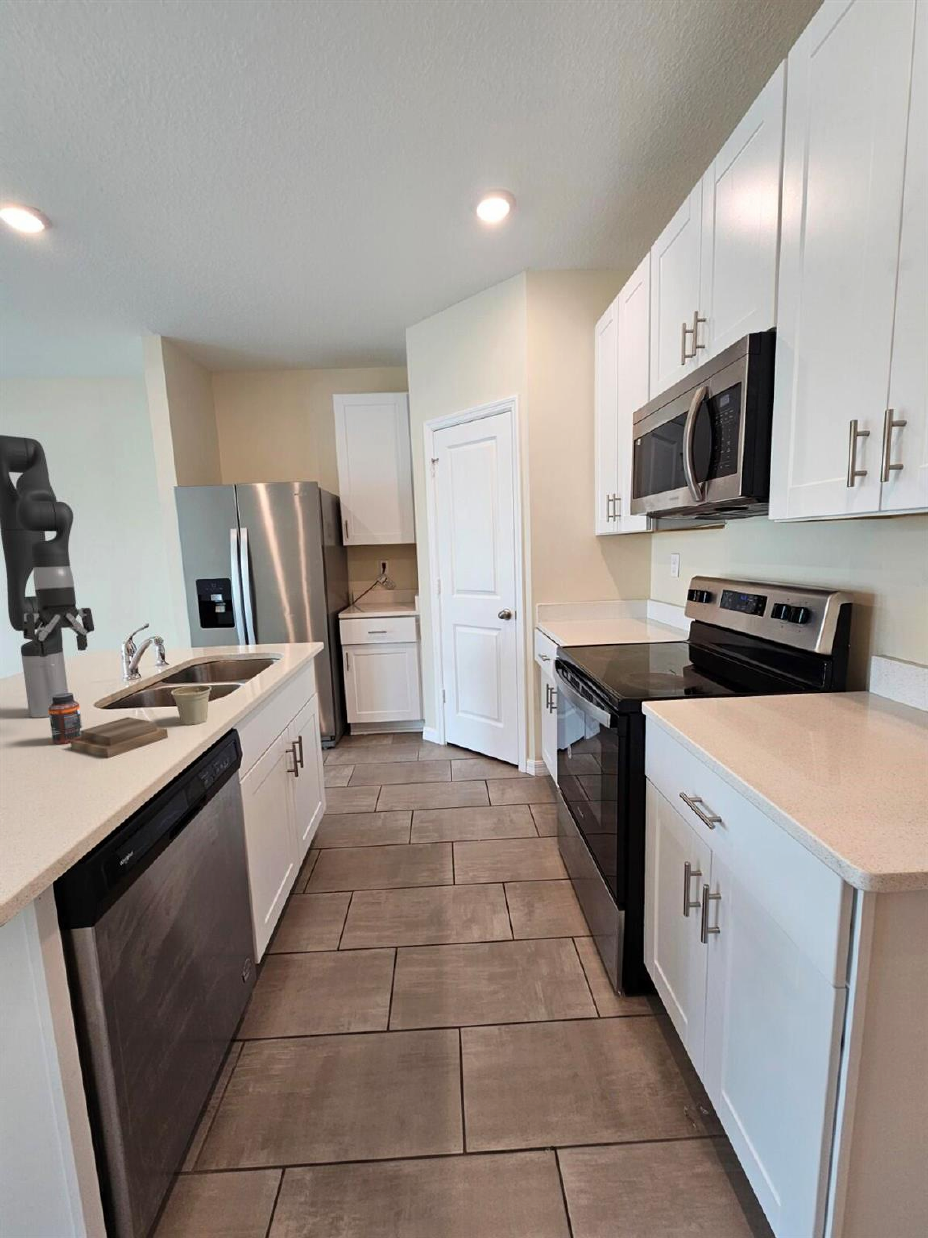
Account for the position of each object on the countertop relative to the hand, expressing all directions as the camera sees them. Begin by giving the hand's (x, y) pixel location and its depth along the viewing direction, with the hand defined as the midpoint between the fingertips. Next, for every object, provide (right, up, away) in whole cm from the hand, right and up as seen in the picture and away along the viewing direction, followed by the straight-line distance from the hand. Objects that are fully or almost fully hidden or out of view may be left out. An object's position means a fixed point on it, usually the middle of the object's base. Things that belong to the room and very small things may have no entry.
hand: (63, 653), depth 130 cm
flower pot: (+26, -19, +12) cm, 34 cm away
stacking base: (+16, -21, -3) cm, 26 cm away
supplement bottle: (+2, -21, 0) cm, 21 cm away
